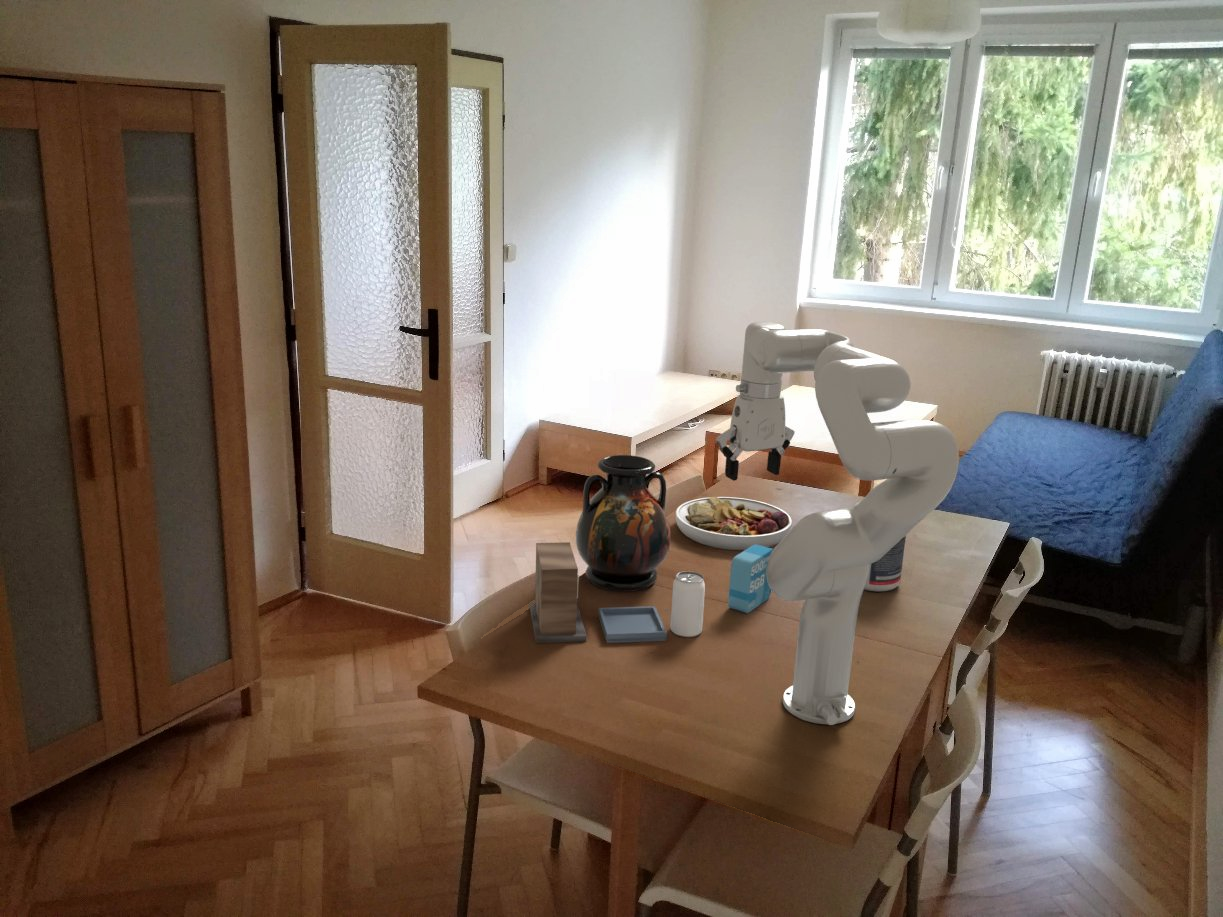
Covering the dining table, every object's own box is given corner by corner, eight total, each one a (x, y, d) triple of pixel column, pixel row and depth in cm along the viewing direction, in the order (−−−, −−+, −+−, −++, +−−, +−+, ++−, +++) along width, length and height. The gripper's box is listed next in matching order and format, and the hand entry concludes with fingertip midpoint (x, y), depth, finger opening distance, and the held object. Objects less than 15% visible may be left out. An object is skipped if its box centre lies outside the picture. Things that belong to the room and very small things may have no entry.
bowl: (662, 544, 248) (664, 515, 246) (688, 508, 276) (690, 481, 274) (781, 562, 240) (784, 532, 238) (796, 522, 268) (799, 495, 266)
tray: (666, 640, 198) (666, 632, 197) (606, 642, 196) (607, 634, 195) (654, 614, 209) (654, 606, 208) (598, 616, 207) (598, 608, 206)
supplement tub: (903, 578, 233) (913, 505, 227) (894, 598, 222) (904, 521, 216) (849, 567, 238) (857, 495, 233) (837, 586, 227) (845, 511, 221)
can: (665, 633, 201) (668, 578, 197) (678, 621, 206) (681, 568, 203) (694, 640, 198) (698, 585, 194) (706, 628, 203) (710, 574, 200)
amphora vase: (587, 602, 213) (591, 479, 205) (565, 564, 233) (568, 450, 225) (681, 594, 219) (688, 474, 211) (651, 558, 239) (657, 447, 231)
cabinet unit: (586, 641, 196) (588, 570, 192) (536, 643, 194) (537, 571, 190) (576, 606, 211) (578, 540, 207) (529, 608, 210) (531, 541, 205)
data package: (745, 615, 210) (750, 563, 207) (727, 609, 213) (731, 558, 209) (771, 597, 220) (775, 547, 216) (752, 591, 222) (757, 542, 219)
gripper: (733, 397, 178) (725, 486, 183) (809, 390, 185) (800, 476, 190) (710, 387, 184) (703, 474, 189) (785, 381, 192) (777, 465, 197)
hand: (752, 475), depth 190 cm, fingers open, 9 cm apart
